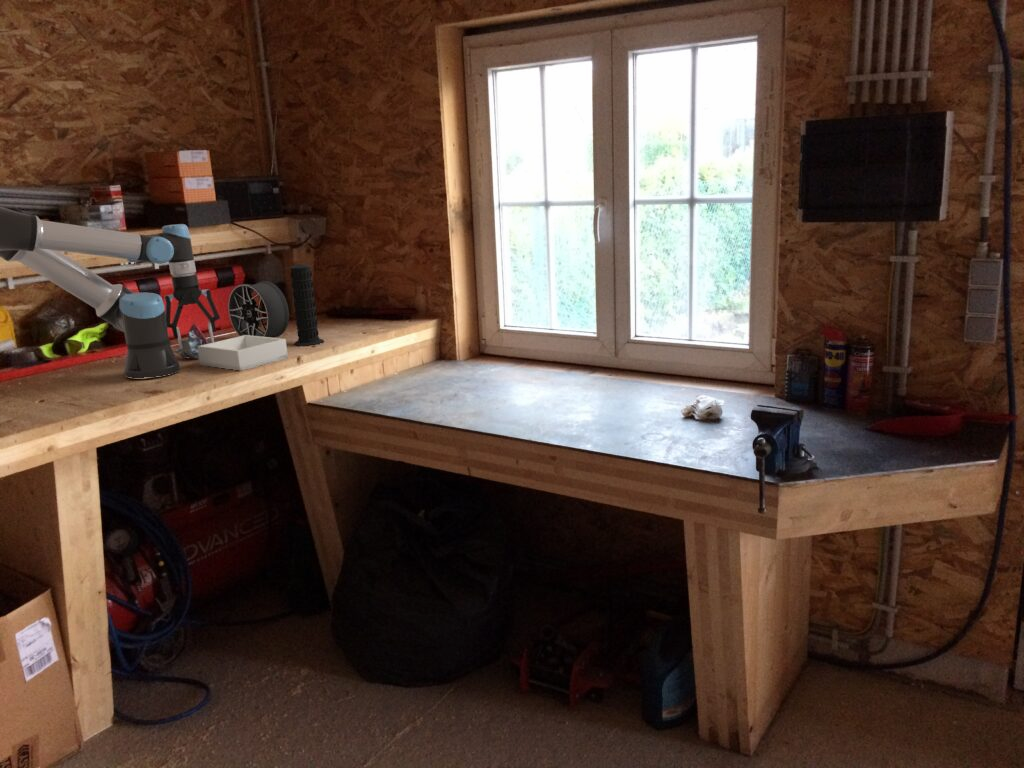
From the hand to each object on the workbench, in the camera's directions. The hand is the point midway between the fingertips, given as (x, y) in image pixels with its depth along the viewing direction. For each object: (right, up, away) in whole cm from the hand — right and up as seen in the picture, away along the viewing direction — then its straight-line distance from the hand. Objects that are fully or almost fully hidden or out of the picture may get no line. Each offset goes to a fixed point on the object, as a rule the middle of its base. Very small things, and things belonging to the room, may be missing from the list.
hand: (197, 345), depth 273 cm
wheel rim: (+14, +3, +23) cm, 27 cm away
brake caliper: (0, -4, +1) cm, 4 cm away
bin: (+18, -6, -10) cm, 21 cm away
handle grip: (+33, +1, +14) cm, 35 cm away
